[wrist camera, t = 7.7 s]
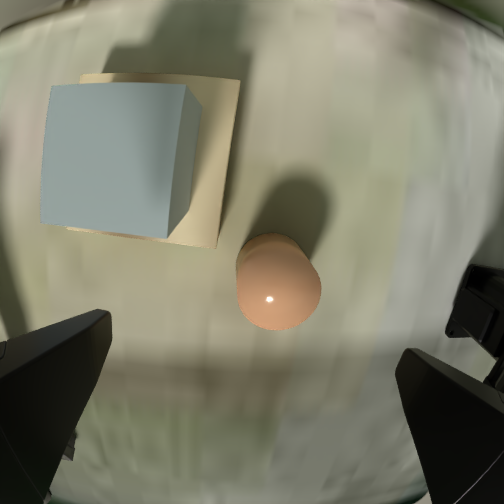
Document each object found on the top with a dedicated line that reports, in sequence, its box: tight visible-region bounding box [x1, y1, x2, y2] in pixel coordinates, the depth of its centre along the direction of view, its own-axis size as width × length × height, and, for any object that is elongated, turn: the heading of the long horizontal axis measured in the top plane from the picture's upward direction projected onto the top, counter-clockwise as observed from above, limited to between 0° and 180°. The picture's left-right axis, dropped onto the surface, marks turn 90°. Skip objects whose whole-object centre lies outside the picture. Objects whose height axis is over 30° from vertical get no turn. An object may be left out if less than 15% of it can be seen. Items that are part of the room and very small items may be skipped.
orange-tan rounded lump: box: [236, 233, 321, 330], centre depth 18 cm, size 4×4×4 cm
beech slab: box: [66, 73, 240, 249], centre depth 17 cm, size 9×9×2 cm
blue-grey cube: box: [40, 83, 202, 239], centre depth 13 cm, size 6×6×6 cm
